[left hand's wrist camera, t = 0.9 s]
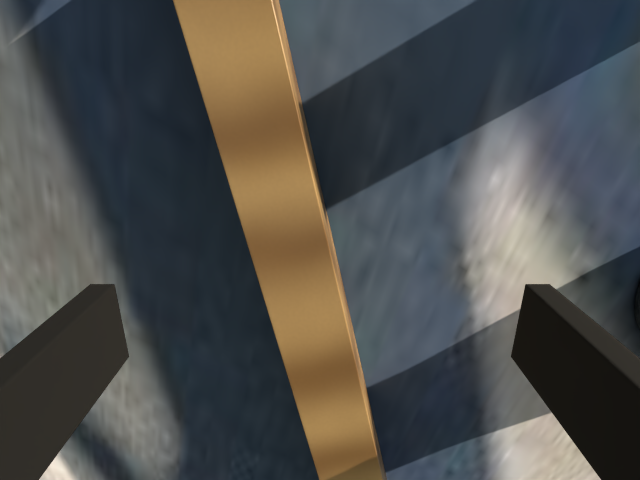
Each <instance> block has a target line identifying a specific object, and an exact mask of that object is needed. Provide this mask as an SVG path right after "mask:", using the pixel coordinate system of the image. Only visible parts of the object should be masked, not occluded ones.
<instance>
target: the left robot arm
mask: <svg viewBox="0 0 640 480" xmlns="http://www.w3.org/2000/svg"><path fill="white" fill-rule="evenodd" d="M128 357H129V354H128V349H127V344H126V339H125V334H124V329H123V324H122V319H121V314H120V309H119V305H118V300H117V295H116V290H115V285H114V284H90V285H89V286H88V287H87V288H85V289H84V290H83V291H82V292H80V293H79V294H78V295H77V296H76V297H74V298H73V299H72V300H71V301H70V302H68V303H67V304H66V305H65V306H63V307H62V308H61V309H60V310H59V311H57V312H56V313H55V314H54V315H53V316H51V317H50V318H49V319H48V320H46V321H45V322H44V323H43V324H42V325H40V326H39V327H38V328H37V329H35V330H34V331H33V332H32V333H31V334H29V335H28V336H27V337H26V338H25V339H23V340H22V341H21V342H20V343H18V344H17V345H16V346H15V347H14V348H12V349H11V350H10V351H9V352H8V353H6V354H5V355H4V356H3V357H1V358H0V480H39V479H40V477H41V476H42V475H43V473H44V472H45V471H46V469H47V468H48V466H49V465H50V464H51V462H52V461H53V460H54V458H55V457H56V455H57V454H58V453H59V451H60V450H61V449H62V447H63V446H64V445H65V443H66V442H67V440H68V439H69V438H70V436H71V435H72V434H73V432H74V431H75V430H76V428H77V427H78V425H79V424H80V423H81V421H82V420H83V419H84V417H85V416H86V414H87V413H88V412H89V410H90V409H91V408H92V406H93V405H94V404H95V402H96V401H97V399H98V398H99V397H100V395H101V394H102V393H103V391H104V390H105V389H106V387H107V386H108V384H109V383H110V382H111V380H112V379H113V378H114V376H115V375H116V374H117V372H118V371H119V369H120V368H121V367H122V365H123V364H124V363H125V361H126V360H127V358H128ZM511 357H512V358H513V360H514V361H515V363H516V364H517V365H518V367H519V368H520V369H521V371H522V372H523V374H524V375H525V376H526V378H527V379H528V380H529V382H530V383H531V384H532V386H533V387H534V389H535V390H536V391H537V393H538V394H539V395H540V397H541V398H542V399H543V401H544V402H545V404H546V405H547V406H548V408H549V409H550V410H551V412H552V413H553V414H554V416H555V417H556V419H557V420H558V421H559V423H560V424H561V425H562V427H563V428H564V430H565V431H566V432H567V434H568V435H569V436H570V438H571V439H572V440H573V442H574V443H575V445H576V446H577V447H578V449H579V450H580V451H581V453H582V454H583V455H584V457H585V458H586V460H587V461H588V462H589V464H590V465H591V466H592V468H593V469H594V471H595V472H596V473H597V475H598V476H599V477H600V479H601V480H640V358H639V357H637V356H636V355H635V354H634V353H632V352H631V351H630V350H629V349H628V348H626V347H625V346H624V345H623V344H622V343H620V342H619V341H618V340H617V339H615V338H614V337H613V336H612V335H611V334H609V333H608V332H607V331H606V330H605V329H603V328H602V327H601V326H600V325H598V324H597V323H596V322H595V321H594V320H592V319H591V318H590V317H589V316H587V315H586V314H585V313H584V312H583V311H581V310H580V309H579V308H578V307H577V306H575V305H574V304H573V303H572V302H570V301H569V300H568V299H567V298H566V297H564V296H563V295H562V294H561V293H560V292H558V291H557V290H556V289H555V288H553V287H552V286H551V285H550V284H526V285H525V290H524V295H523V300H522V305H521V309H520V314H519V319H518V324H517V329H516V334H515V339H514V344H513V349H512V354H511Z"/></svg>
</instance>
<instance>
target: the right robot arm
mask: <svg viewBox="0 0 640 480" xmlns="http://www.w3.org/2000/svg"><path fill="white" fill-rule="evenodd" d="M635 317H636V322H637V325H638V327H639V330H640V284H639V286H638V290H637V293H636V298H635Z"/></svg>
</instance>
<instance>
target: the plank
mask: <svg viewBox="0 0 640 480" xmlns="http://www.w3.org/2000/svg"><path fill="white" fill-rule="evenodd" d="M173 2H174V6H175V9H176V12H177V15H178V19H179V22H180V25H181V28H182V32H183V35H184V38H185V42H186V45H187V48H188V51H189V55H190V58H191V61H192V65H193V68H194V71H195V74H196V78H197V81H198V84H199V87H200V91H201V94H202V97H203V101H204V104H205V107H206V110H207V114H208V117H209V120H210V123H211V127H212V130H213V133H214V137H215V140H216V143H217V146H218V150H219V153H220V156H221V159H222V163H223V166H224V169H225V173H226V176H227V179H228V182H229V186H230V189H231V192H232V196H233V199H234V202H235V205H236V209H237V212H238V215H239V218H240V222H241V225H242V228H243V232H244V235H245V238H246V241H247V245H248V248H249V251H250V254H251V258H252V261H253V264H254V268H255V271H256V274H257V277H258V281H259V284H260V287H261V291H262V294H263V297H264V300H265V304H266V307H267V310H268V313H269V317H270V320H271V323H272V327H273V330H274V333H275V336H276V340H277V343H278V346H279V349H280V353H281V356H282V359H283V363H284V366H285V369H286V372H287V376H288V379H289V382H290V385H291V389H292V392H293V395H294V399H295V402H296V405H297V408H298V412H299V415H300V418H301V422H302V425H303V428H304V431H305V435H306V438H307V441H308V444H309V448H310V451H311V454H312V458H313V461H314V464H315V467H316V471H317V474H318V477H319V480H387V477H386V473H385V469H384V464H383V460H382V455H381V451H380V447H379V442H378V438H377V433H376V429H375V424H374V420H373V416H372V411H371V407H370V402H369V398H368V393H367V389H366V385H365V380H364V376H363V371H362V367H361V362H360V358H359V354H358V349H357V345H356V340H355V336H354V331H353V327H352V323H351V318H350V314H349V309H348V305H347V301H346V296H345V292H344V287H343V283H342V278H341V274H340V270H339V265H338V261H337V256H336V252H335V247H334V243H333V239H332V234H331V230H330V225H329V221H328V216H327V212H326V208H325V203H324V199H323V194H322V190H321V186H320V181H319V177H318V172H317V168H316V163H315V159H314V155H313V150H312V146H311V141H310V137H309V132H308V128H307V124H306V119H305V115H304V110H303V106H302V101H301V97H300V93H299V88H298V84H297V79H296V75H295V70H294V66H293V62H292V57H291V53H290V48H289V44H288V40H287V35H286V31H285V26H284V22H283V17H282V13H281V9H280V4H279V0H173Z"/></svg>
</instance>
